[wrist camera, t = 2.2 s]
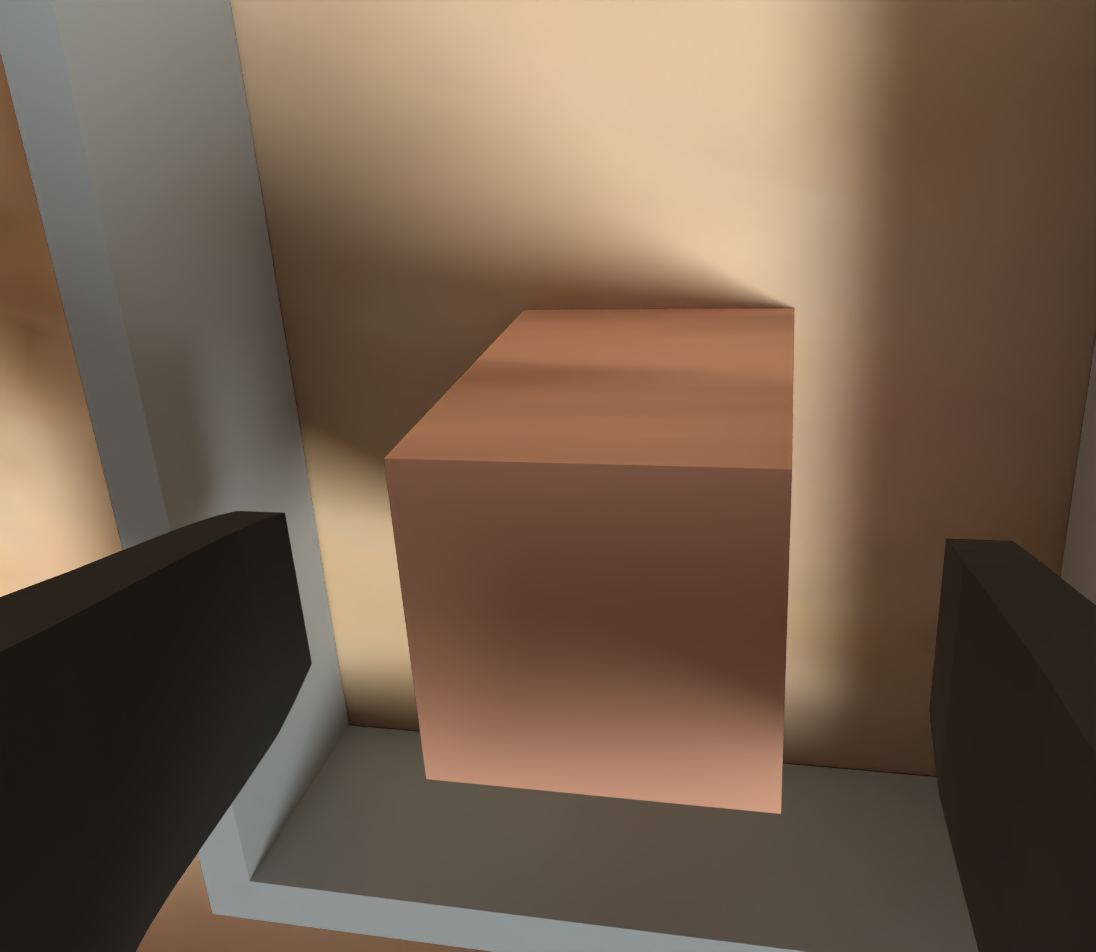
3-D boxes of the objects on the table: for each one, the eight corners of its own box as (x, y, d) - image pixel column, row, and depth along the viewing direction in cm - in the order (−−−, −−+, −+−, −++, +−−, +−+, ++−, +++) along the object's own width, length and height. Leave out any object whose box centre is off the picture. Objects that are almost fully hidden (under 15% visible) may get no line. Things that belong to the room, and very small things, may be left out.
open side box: (1076, 828, 17) (1148, 1040, 14) (316, 756, 20) (212, 914, 17) (1236, -105, 12) (1421, -157, 8) (176, -15, 15) (-19, -25, 11)
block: (786, 555, 17) (780, 814, 11) (541, 544, 17) (425, 778, 12) (793, 307, 15) (792, 468, 10) (524, 309, 16) (383, 458, 10)
